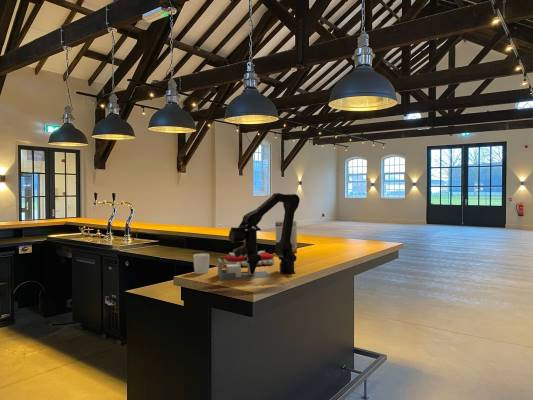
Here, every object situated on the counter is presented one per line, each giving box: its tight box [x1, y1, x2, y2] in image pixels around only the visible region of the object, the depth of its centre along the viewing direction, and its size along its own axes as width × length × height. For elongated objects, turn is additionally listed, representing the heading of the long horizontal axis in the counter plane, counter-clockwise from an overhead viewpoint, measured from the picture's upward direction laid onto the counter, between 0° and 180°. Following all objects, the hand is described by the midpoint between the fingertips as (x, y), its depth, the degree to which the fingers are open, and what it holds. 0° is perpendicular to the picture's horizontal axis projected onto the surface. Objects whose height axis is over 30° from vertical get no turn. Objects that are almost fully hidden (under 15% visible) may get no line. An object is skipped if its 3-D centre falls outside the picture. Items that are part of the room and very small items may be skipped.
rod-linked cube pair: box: [225, 263, 256, 277], centre depth 188 cm, size 13×6×6 cm, turn 103°
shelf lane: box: [217, 258, 273, 281], centre depth 188 cm, size 24×14×9 cm, turn 104°
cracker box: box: [274, 220, 298, 254], centre depth 266 cm, size 14×6×21 cm, turn 84°
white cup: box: [192, 253, 210, 275], centre depth 198 cm, size 8×8×10 cm
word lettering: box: [223, 250, 275, 268], centre depth 224 cm, size 27×7×30 cm
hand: (251, 273), depth 189 cm, fingers closed on rod-linked cube pair, 3 cm apart
